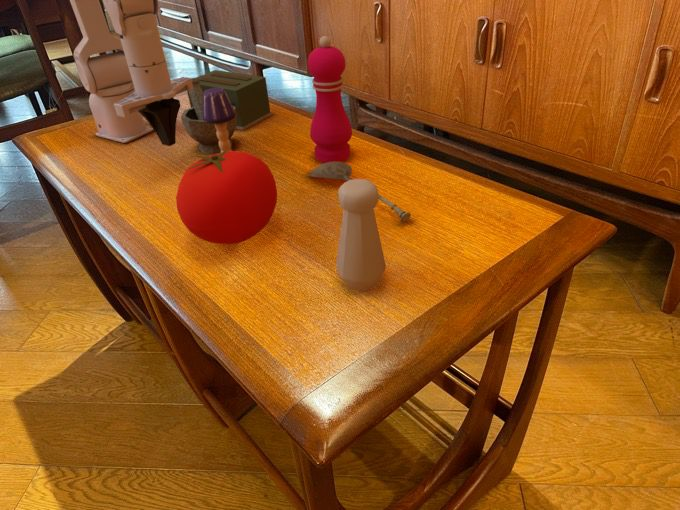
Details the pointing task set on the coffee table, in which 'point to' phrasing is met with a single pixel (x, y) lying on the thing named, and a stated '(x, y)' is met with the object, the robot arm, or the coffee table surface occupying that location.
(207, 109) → the toy lamp
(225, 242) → the tomato
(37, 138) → the coffee table surface
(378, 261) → the salt shaker
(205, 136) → the mortar and pestle
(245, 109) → the toaster
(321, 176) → the soupspoon
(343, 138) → the pepper mill
